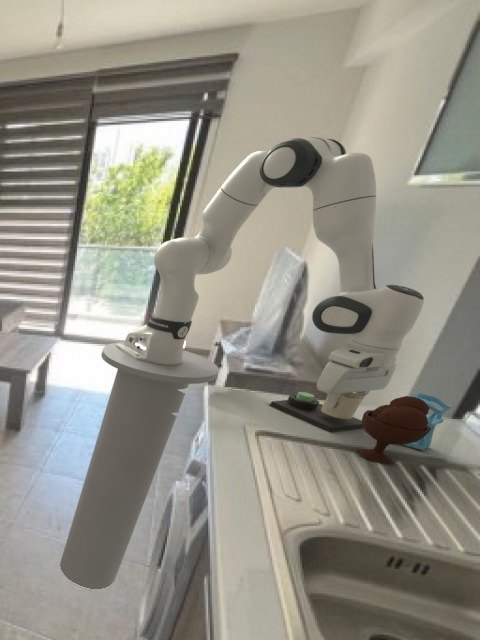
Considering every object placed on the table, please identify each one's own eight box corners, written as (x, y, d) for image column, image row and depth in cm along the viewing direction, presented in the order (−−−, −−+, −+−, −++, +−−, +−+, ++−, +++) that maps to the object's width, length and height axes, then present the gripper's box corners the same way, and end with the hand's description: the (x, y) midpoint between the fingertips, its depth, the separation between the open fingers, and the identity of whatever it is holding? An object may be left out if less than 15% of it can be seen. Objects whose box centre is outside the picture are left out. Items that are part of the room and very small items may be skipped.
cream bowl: (314, 409, 127) (324, 390, 124) (331, 407, 128) (342, 388, 126) (340, 420, 121) (351, 400, 119) (358, 417, 123) (369, 398, 120)
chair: (419, 452, 113) (450, 407, 107) (375, 437, 119) (402, 393, 114) (433, 446, 116) (464, 401, 110) (389, 431, 123) (416, 388, 117)
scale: (269, 405, 135) (274, 395, 133) (303, 401, 138) (308, 392, 136) (329, 431, 121) (335, 421, 120) (365, 427, 124) (372, 416, 123)
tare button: (292, 398, 133) (295, 392, 132) (301, 397, 134) (304, 391, 133) (305, 403, 130) (308, 397, 129) (315, 402, 131) (318, 396, 130)
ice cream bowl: (339, 441, 117) (372, 384, 110) (401, 456, 111) (440, 397, 104) (345, 458, 109) (381, 398, 102) (412, 475, 103) (454, 413, 96)
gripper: (383, 349, 122) (355, 398, 129) (325, 352, 117) (299, 404, 124) (413, 357, 117) (382, 408, 124) (353, 361, 112) (325, 414, 119)
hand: (340, 406), depth 124 cm, fingers closed on cream bowl, 6 cm apart
